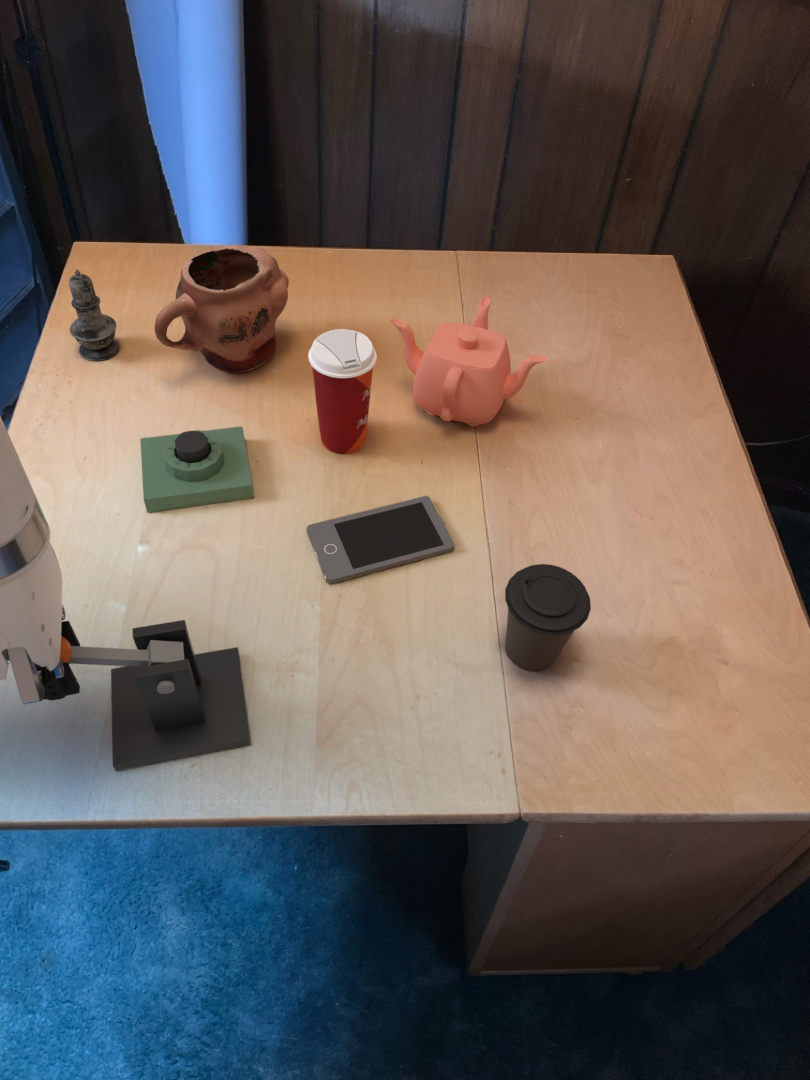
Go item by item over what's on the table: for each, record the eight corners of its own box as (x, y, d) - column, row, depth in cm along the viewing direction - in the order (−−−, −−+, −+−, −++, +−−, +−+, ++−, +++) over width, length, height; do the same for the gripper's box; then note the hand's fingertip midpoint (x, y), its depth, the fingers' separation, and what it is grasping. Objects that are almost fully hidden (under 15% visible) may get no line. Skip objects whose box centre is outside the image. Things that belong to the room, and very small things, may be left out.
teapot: (386, 384, 108) (389, 314, 99) (478, 358, 112) (488, 289, 104) (437, 454, 100) (445, 384, 91) (534, 423, 104) (550, 354, 96)
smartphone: (428, 498, 95) (429, 494, 94) (456, 549, 90) (456, 545, 89) (305, 528, 91) (305, 524, 90) (327, 584, 86) (327, 580, 85)
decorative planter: (205, 416, 102) (189, 323, 91) (142, 374, 106) (119, 280, 95) (314, 344, 112) (310, 253, 101) (251, 308, 117) (242, 218, 106)
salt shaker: (109, 330, 112) (88, 251, 102) (129, 352, 109) (109, 273, 100) (69, 345, 109) (43, 266, 100) (88, 368, 106) (64, 288, 97)
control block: (147, 512, 91) (140, 488, 88) (143, 451, 97) (137, 426, 94) (254, 498, 93) (250, 473, 90) (244, 439, 99) (240, 414, 96)
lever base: (115, 771, 72) (85, 714, 63) (113, 674, 78) (85, 611, 69) (251, 744, 74) (239, 686, 66) (238, 653, 80) (226, 589, 72)
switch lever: (24, 681, 64) (30, 659, 62) (26, 647, 66) (32, 624, 64) (176, 685, 70) (186, 665, 68) (174, 654, 72) (184, 634, 70)
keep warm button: (178, 465, 91) (175, 454, 90) (176, 443, 93) (173, 432, 92) (210, 461, 92) (208, 450, 90) (208, 439, 94) (205, 428, 92)
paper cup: (382, 452, 99) (387, 360, 89) (323, 466, 97) (320, 374, 86) (361, 411, 104) (362, 319, 93) (304, 424, 102) (298, 332, 91)
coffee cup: (486, 616, 85) (500, 557, 77) (562, 614, 85) (583, 556, 78) (497, 685, 79) (514, 629, 72) (578, 682, 80) (602, 626, 72)
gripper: (-64, 451, 57) (18, 600, 71) (-97, 645, 47) (6, 774, 61) (48, 437, 58) (106, 587, 73) (39, 623, 48) (109, 755, 63)
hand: (60, 671), depth 67 cm, fingers closed on switch lever, 3 cm apart
